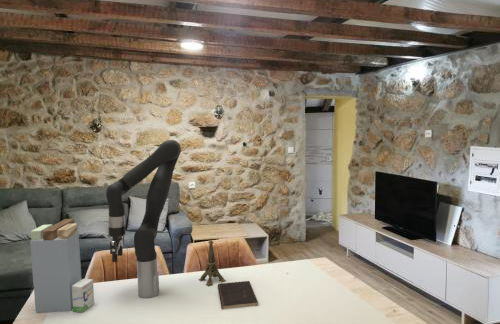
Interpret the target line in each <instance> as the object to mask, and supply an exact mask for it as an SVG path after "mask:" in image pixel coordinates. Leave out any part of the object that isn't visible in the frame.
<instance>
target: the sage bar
mask: <svg viewBox="0 0 500 324" xmlns="http://www.w3.org/2000/svg"><path fill="white" fill-rule="evenodd" d="M52 226H53V224H50V223H49V224H42V225H40V226H38V227H36V228H34V229H33V230H30V238H31V239H30V241H31V240H42V239H43V231H44V230H46V229H48V228H50V227H52Z"/></svg>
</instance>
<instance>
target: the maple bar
mask: <svg viewBox="0 0 500 324" xmlns="http://www.w3.org/2000/svg"><path fill="white" fill-rule="evenodd" d="M77 231H78V223H76V222H74V224H67V225H65V226H63V227H62V228H60V229H58V230H57V235H58V239H68V238H69V237H71V236H72V235H74V234H75V233H77Z"/></svg>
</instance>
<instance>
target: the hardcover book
mask: <svg viewBox="0 0 500 324" xmlns="http://www.w3.org/2000/svg"><path fill="white" fill-rule="evenodd" d="M217 291H218V296H219V297H218V298H219V303H220V307H221V310H226V309H235V308H245V307H253V306H255V307H256V306H258V303H259V301H258V299H257V297H256V294H255V291H254V288H253V287H252V285H251V282H250V280H243V281H234V282H233V281H232V282H220V283H218V284H217Z"/></svg>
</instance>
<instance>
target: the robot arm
mask: <svg viewBox="0 0 500 324" xmlns="http://www.w3.org/2000/svg"><path fill="white" fill-rule="evenodd" d="M181 153H182V147H181V145H180V143H179V142H178V141H177V140H174V139H167V140H165V141H163V142H162V143H161V144H160V145H159V146H158V147H157V148H156V149H155V151H154V152H152V153H151V155H149V156H148V157H146V158H145V159H144V160H143V161H141V162H140V163H139V164H137V165H135V166H134V167H133V168H131V169H130V170H129V171H128V172H126V173H125V174H124V175H123V177H121V178H120V179H118V180H117V181H116V182H114V183H111V184H109V185H108V186H107V188H106V192H105V195H106V201H107V205H108V219H107V221H108V222H107V224H108V225H107V226H108V236H109V237H111V238H112V239H111V240H110V241H109V253H110V255H111V260H112V261H111V262H112V263H117V262H118V257H119V256H120V257H122V256H123V254H124V253H123V251H124V250H123V248H124V246H125V235H126V214H125V210H126V209H125V204H124V203H123V199H122V198H123V197H122V196H124V195H125V194H127V193H128V191H130V190H131V189H132V188H133V187H135V186H137V185H138V184H139V183H141V182H142V181H144V179H146V178H147V177H149V175H150V174H152V172H154V171H155V173H154V175H153V177H152V179H151V182H150V183H149V188H148V190H147V194H146V198H145V200H146V201H145V212H144V215H143V219H142V220H141V223H140V226H139V227H138V229H136V230H135V232H134V236H133V244H134V254H135V256H136V272H137V293H138V294H137V295H138V297H140V298H143V299H144V298H145V299H147V298H152V297H157V296H158V294H159V292H160V277H159V271H158V259H157V258H158V257H157V252H156V248H155V247H156V244H155V239H156V237H157V234H158V228H159V224H160V218H161V216H162V213H163V211H164V207H165V204H166V201H167V199H168V197H169V196H168V195H169V192H170V188H171V184H172V180H173V174H174V170H175V168H176V165H177V162H178V161H179V157H180V155H181Z"/></svg>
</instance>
